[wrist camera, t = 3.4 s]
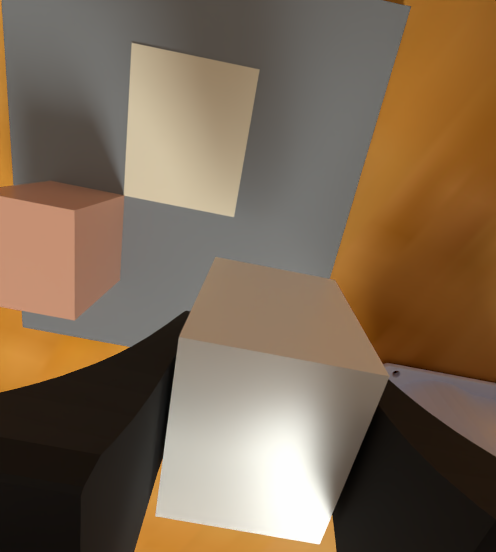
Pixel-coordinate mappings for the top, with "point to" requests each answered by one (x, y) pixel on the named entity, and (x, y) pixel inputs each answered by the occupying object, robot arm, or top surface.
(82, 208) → the terracotta brick
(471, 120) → the top surface
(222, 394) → the white brick
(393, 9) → the baseplate
